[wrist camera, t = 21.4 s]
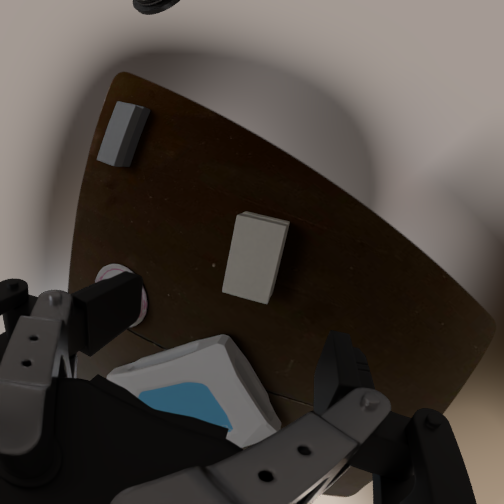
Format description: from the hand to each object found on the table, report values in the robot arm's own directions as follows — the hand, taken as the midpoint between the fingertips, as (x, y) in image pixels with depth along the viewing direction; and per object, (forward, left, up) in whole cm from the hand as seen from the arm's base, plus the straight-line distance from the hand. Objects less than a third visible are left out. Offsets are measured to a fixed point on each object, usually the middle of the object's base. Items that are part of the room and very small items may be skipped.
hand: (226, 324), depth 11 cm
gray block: (-5, -29, -30) cm, 42 cm away
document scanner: (+35, -3, -30) cm, 46 cm away
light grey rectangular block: (+4, -2, -26) cm, 26 cm away
